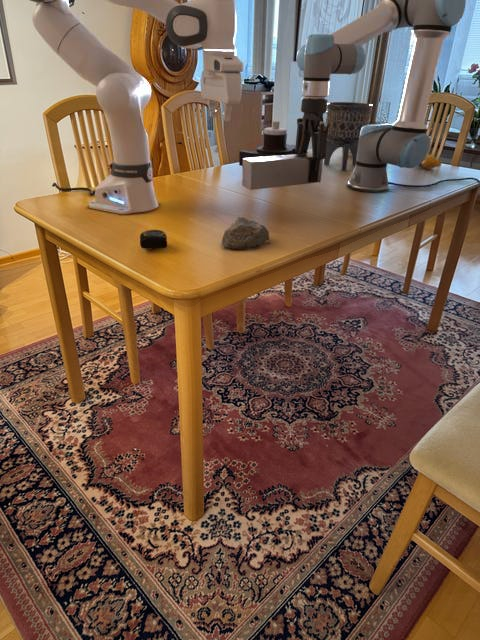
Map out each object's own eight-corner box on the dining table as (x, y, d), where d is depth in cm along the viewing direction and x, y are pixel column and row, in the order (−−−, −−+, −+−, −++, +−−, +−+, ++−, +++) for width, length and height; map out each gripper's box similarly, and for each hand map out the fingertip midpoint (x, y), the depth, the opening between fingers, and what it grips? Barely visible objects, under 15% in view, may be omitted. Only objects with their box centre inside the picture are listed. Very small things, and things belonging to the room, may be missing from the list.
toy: (415, 162, 205) (409, 155, 218) (417, 175, 208) (411, 168, 221) (441, 154, 202) (433, 147, 215) (443, 168, 205) (435, 160, 218)
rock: (255, 233, 128) (256, 211, 124) (276, 242, 122) (278, 219, 119) (217, 244, 120) (217, 220, 117) (239, 254, 115) (239, 230, 111)
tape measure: (140, 252, 115) (139, 238, 113) (141, 242, 120) (140, 229, 119) (167, 251, 116) (166, 237, 114) (167, 241, 121) (166, 228, 120)
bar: (310, 178, 146) (313, 152, 142) (320, 182, 141) (323, 156, 137) (242, 185, 136) (242, 158, 132) (250, 189, 132) (251, 161, 128)
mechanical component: (240, 120, 182) (283, 115, 202) (239, 174, 192) (280, 164, 212) (283, 126, 170) (325, 120, 190) (280, 183, 180) (320, 171, 200)
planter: (313, 167, 208) (319, 103, 195) (331, 160, 222) (338, 101, 209) (353, 173, 199) (362, 107, 185) (369, 166, 213) (379, 104, 199)
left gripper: (194, 62, 129) (196, 115, 136) (224, 63, 113) (223, 123, 120) (215, 62, 131) (215, 114, 138) (246, 64, 115) (245, 123, 122)
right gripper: (286, 95, 136) (282, 174, 148) (322, 100, 122) (314, 187, 133) (307, 94, 139) (301, 172, 151) (345, 100, 125) (335, 185, 136)
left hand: (219, 119), depth 129 cm, fingers open, 8 cm apart
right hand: (307, 179), depth 142 cm, fingers closed on bar, 6 cm apart
